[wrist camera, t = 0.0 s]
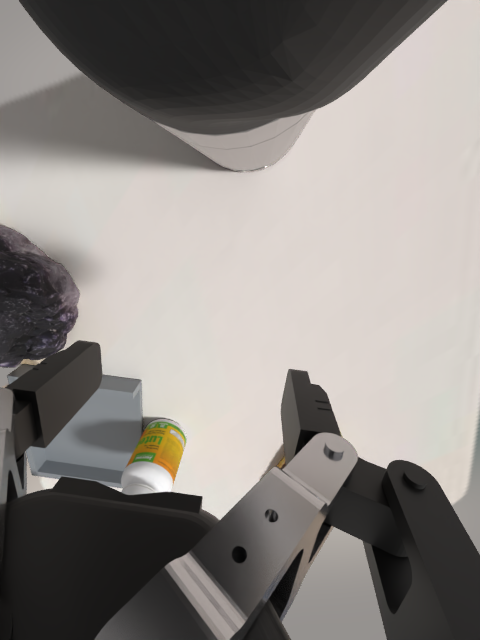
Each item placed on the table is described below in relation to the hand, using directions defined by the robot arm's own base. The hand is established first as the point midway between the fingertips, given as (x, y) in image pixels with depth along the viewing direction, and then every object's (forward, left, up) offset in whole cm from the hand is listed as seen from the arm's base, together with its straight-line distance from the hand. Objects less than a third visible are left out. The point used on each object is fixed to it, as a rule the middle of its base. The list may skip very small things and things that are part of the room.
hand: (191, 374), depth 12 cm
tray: (+22, -16, -17) cm, 32 cm away
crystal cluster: (+5, -21, -18) cm, 28 cm away
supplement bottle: (+22, -6, -17) cm, 29 cm away
